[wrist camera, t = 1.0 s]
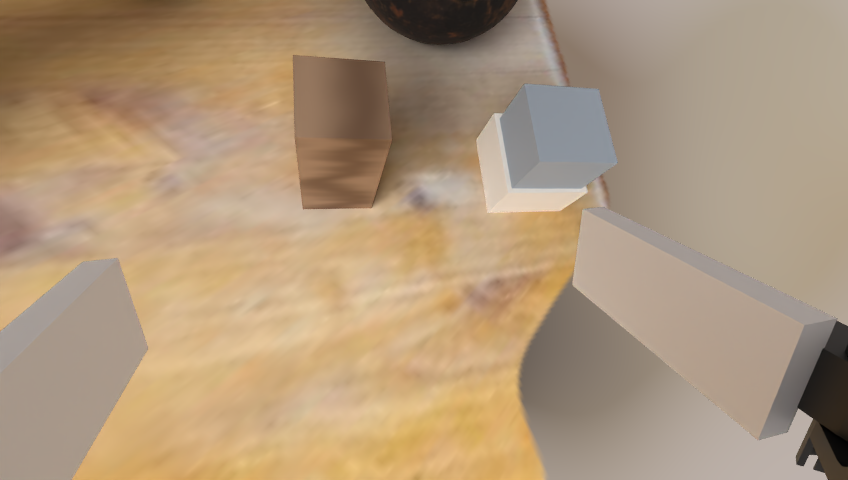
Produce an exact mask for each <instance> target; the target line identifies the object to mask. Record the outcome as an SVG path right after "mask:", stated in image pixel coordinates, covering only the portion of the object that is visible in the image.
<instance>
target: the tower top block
mask: <svg viewBox="0 0 848 480" xmlns="http://www.w3.org/2000/svg"><path fill="white" fill-rule="evenodd" d="M500 124H501V130H502V135H503V141H504V147H505V152H506V158H507V164H508V170H509V175H510V181H511V187H512V188H530V189H582V188H583V187H584V186H586V185H587V184H589V183H590V182H592V181H593V180H594V179H596V178H597V177H599V176H600V175H602V174H603V173H604V172H606V171H607V170H609V169H610V168H611V167H613V166H614V165H616V164H617V163H618V162H617V158H616V154H615V151H614V147H613V143H612V139H611V135H610V131H609V127H608V123H607V120H606V116H605V112H604V108H603V104H602V100H601V96H600V92H599V89H591V88H577V87H563V86H550V85H536V84H524V85H523V86H522V88H521V89H520V91H519V92H518V93H517V95H516V96H515V98H514V99H513V100H512V102H511V103H510V105H509V106H508V107H507V109H506V110H505V112H504V113H503V115H502V116H501V117H500Z"/></svg>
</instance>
